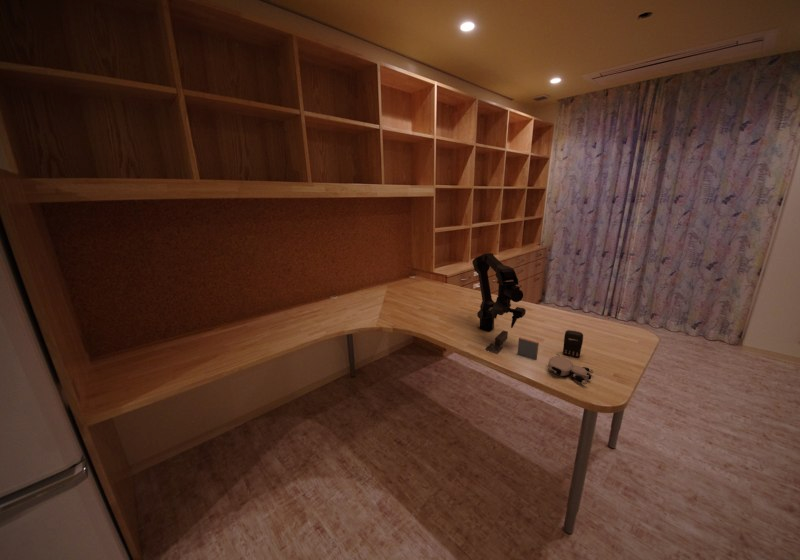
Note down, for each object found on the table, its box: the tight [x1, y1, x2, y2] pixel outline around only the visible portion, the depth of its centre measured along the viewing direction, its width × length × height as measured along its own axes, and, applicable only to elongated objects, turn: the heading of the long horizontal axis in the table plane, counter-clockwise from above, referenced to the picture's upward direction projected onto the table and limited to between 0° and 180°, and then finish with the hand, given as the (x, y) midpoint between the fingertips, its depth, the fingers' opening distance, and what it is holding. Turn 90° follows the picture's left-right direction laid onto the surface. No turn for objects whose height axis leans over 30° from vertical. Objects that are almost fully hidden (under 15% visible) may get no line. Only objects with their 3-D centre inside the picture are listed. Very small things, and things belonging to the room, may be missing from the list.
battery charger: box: [562, 329, 584, 359], centre depth 127 cm, size 7×4×11 cm, turn 57°
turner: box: [484, 329, 509, 355], centre depth 139 cm, size 6×17×4 cm, turn 140°
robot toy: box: [545, 353, 594, 385], centre depth 115 cm, size 12×4×15 cm
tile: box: [517, 336, 540, 361], centre depth 128 cm, size 8×1×8 cm, turn 50°
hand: (502, 325), depth 139 cm, fingers open, 9 cm apart
